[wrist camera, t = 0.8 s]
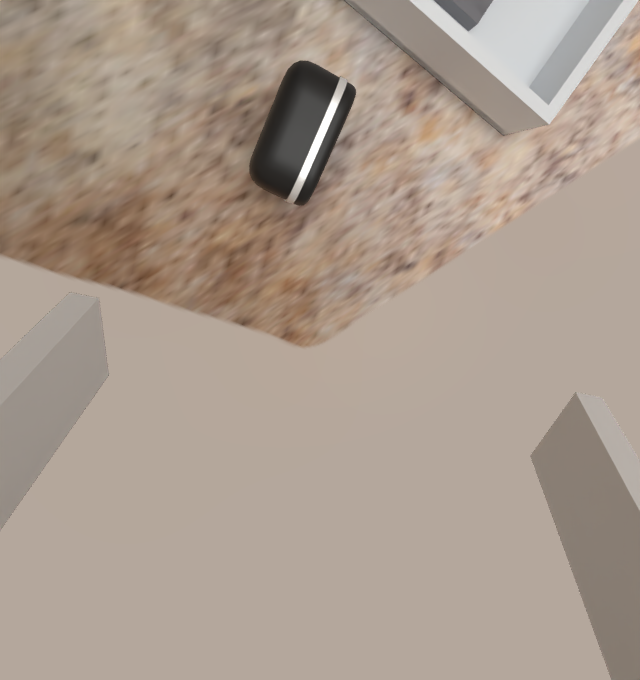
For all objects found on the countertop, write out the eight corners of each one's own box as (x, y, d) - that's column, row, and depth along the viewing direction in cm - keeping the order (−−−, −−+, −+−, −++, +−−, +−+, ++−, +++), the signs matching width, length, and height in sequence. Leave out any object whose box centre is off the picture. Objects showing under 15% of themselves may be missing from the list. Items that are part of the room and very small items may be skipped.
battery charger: (285, 88, 32) (295, 36, 22) (333, 114, 33) (365, 78, 23) (247, 182, 34) (238, 178, 23) (293, 205, 35) (306, 211, 24)
